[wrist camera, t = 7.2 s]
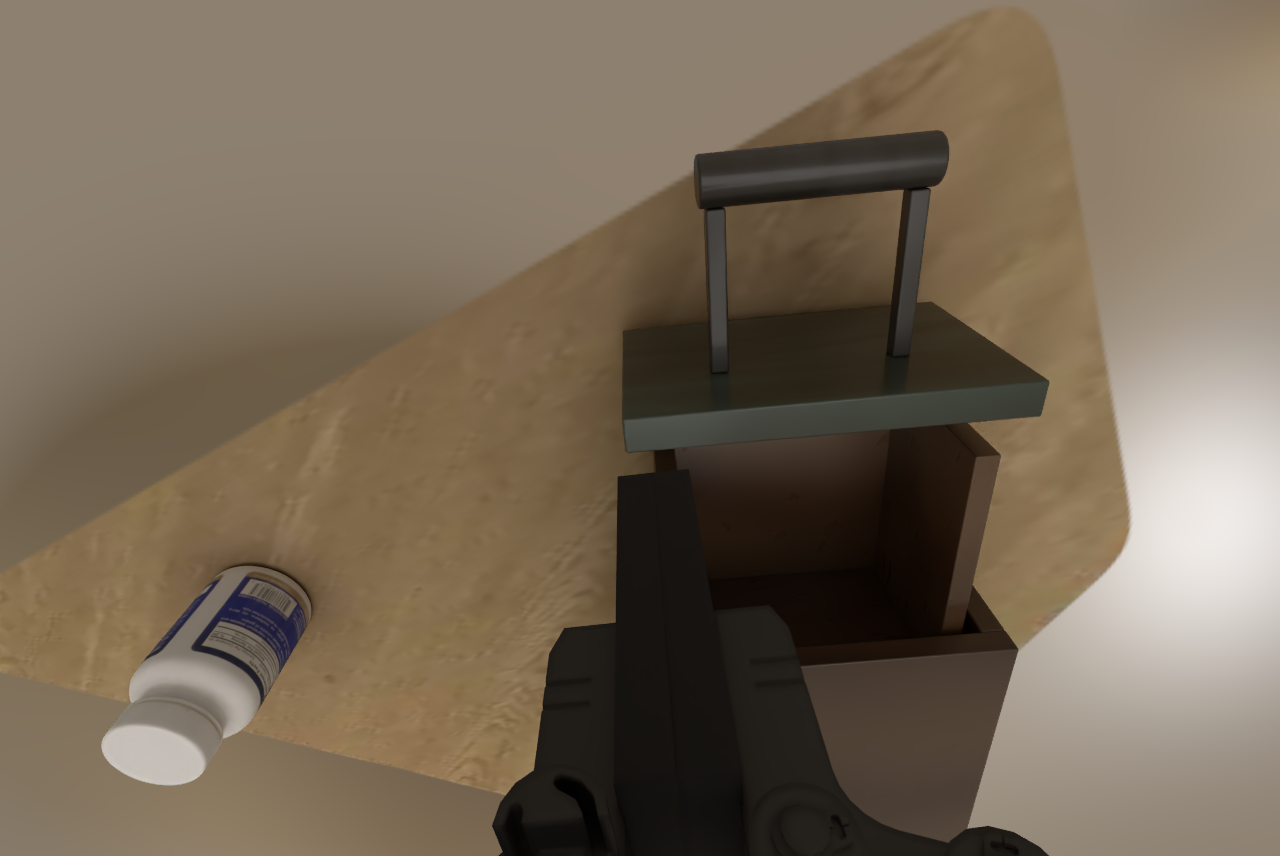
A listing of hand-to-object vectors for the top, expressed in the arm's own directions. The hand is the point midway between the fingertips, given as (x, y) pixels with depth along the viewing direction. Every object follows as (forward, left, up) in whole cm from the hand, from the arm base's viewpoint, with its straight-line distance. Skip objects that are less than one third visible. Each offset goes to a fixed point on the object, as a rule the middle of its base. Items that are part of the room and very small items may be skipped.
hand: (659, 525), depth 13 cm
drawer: (+4, +5, -13) cm, 15 cm away
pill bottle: (+14, -22, -15) cm, 29 cm away
